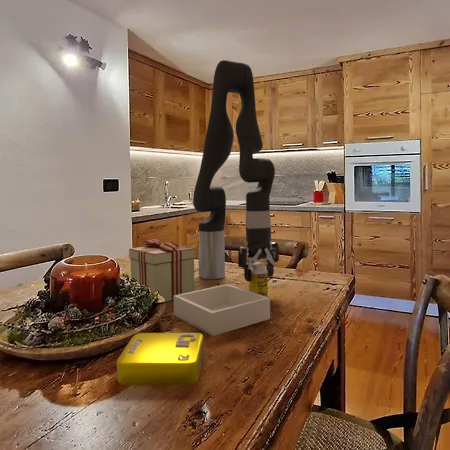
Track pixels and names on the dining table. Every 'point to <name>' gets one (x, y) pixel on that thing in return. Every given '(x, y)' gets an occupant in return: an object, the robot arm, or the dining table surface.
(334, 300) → the dining table surface
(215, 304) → the box
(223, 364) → the dining table surface
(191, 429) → the dining table surface
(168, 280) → the gift box
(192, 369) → the element tile
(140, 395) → the dining table surface
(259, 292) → the supplement bottle
